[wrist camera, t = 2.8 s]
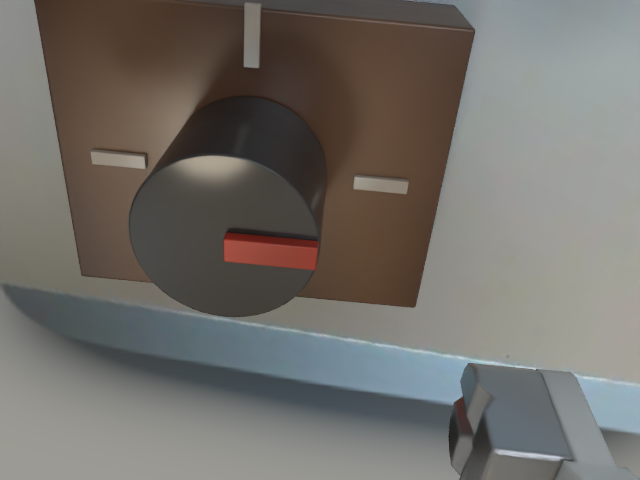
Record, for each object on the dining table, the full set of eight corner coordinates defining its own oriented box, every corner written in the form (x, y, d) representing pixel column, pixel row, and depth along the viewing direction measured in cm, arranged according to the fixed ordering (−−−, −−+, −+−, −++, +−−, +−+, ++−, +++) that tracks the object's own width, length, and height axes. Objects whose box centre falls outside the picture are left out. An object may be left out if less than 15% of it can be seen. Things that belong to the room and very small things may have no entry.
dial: (177, 229, 16) (132, 317, 13) (168, 88, 14) (112, 149, 11) (320, 243, 16) (311, 334, 13) (333, 103, 14) (327, 170, 11)
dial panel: (116, 228, 20) (78, 282, 17) (83, -35, 15) (26, -18, 13) (407, 256, 20) (415, 315, 17) (456, 1, 15) (478, 25, 13)
